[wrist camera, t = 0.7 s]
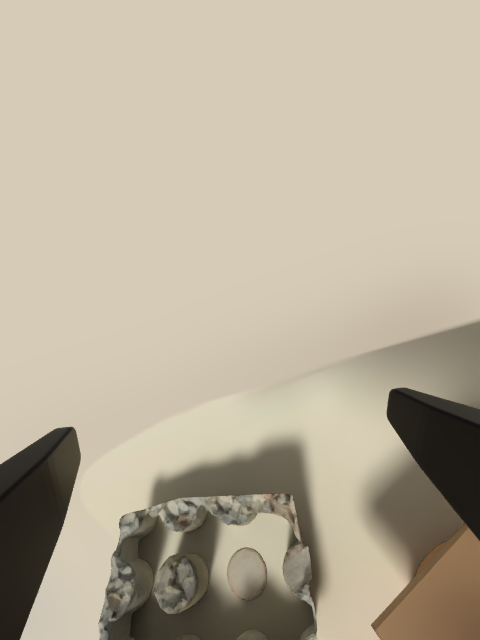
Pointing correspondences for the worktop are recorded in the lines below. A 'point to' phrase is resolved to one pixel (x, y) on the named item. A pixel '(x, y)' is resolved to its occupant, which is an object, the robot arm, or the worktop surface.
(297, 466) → the worktop surface
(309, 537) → the worktop surface
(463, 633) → the lid
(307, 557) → the egg carton
